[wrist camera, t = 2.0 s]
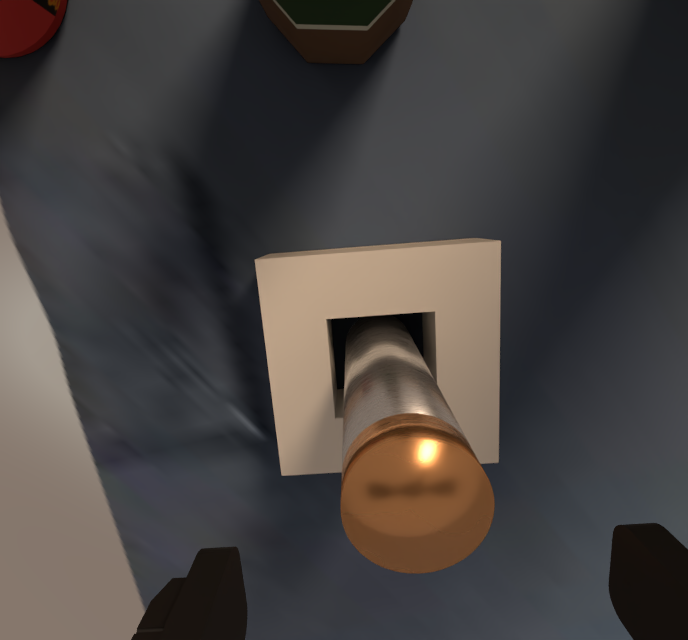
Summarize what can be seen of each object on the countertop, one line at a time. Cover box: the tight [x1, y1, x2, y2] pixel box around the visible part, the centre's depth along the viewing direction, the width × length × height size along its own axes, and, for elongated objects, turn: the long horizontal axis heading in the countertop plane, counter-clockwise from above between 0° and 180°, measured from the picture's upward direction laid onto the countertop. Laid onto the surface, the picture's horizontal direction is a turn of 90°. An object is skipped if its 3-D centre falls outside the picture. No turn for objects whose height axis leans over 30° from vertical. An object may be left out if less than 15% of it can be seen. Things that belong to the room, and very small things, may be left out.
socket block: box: [255, 238, 501, 476], centre depth 23 cm, size 12×12×4 cm
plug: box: [341, 315, 495, 573], centre depth 18 cm, size 4×4×15 cm
